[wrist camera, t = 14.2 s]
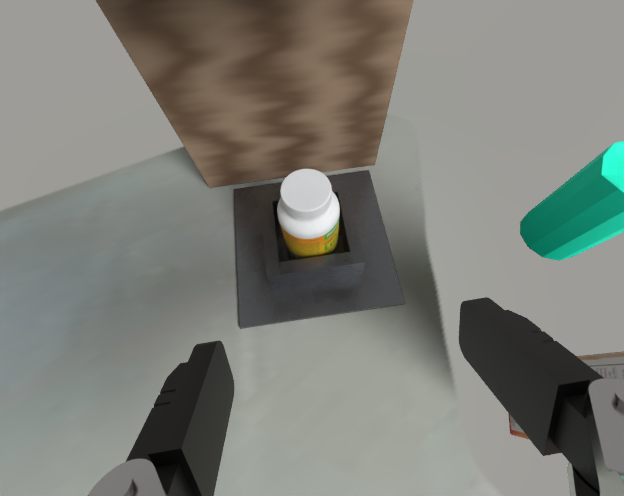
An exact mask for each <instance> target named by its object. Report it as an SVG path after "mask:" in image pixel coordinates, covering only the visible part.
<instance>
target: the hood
mask: <svg viewBox="0 0 624 496" xmlns="http://www.w3.org/2000/svg"><path fill="white" fill-rule="evenodd" d="M96 2H97V3H98V5H99V6H100V8H101V10H102V11H103V13H104V15H105V16H106V18H107V20H108V21H109V23H110V25H111V26H112V28H113V30H114V31H115V33H116V35H117V36H118V38H119V39H120V41H121V43H122V44H123V46H124V47H125V49H126V51H127V53H128V54H129V56H130V58H131V59H132V61H133V62H134V64H135V66H136V67H137V69H138V71H139V72H140V74H141V76H142V77H143V79H144V81H145V82H146V84H147V86H148V87H149V89H150V91H151V92H152V94H153V95H154V97H155V99H156V100H157V102H158V104H159V105H160V107H161V108H162V110H163V112H164V114H165V115H166V117H167V118H168V120H169V122H170V123H171V125H172V127H173V128H174V130H175V132H176V133H177V135H178V136H179V138H180V140H181V141H182V143H183V145H184V146H185V148H186V150H187V151H188V153H189V155H190V156H191V158H192V160H193V161H194V163H195V165H196V166H197V168H198V169H199V171H200V173H201V174H202V176H203V178H204V179H205V181H206V183H207V184H208V186H209V188H212V187H219V186H226V185H233V184H241V183H248V182H255V181H262V180H269V179H276V178H283V177H287V176H288V175H289V174H291V173H292V172H294V171H297V170H300V169H314V170H317V171H319V172H326V171H333V170H340V169H347V168H355V167H362V166H369V165H375V162H376V158H377V153H378V149H379V145H380V141H381V136H382V132H383V128H384V124H385V119H386V115H387V110H388V107H389V102H390V98H391V93H392V89H393V85H394V81H395V77H396V72H397V68H398V64H399V60H400V55H401V51H402V47H403V42H404V38H405V34H406V30H407V26H408V21H409V17H410V13H411V8H412V4H413V0H96Z"/></svg>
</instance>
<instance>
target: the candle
mask: <svg viewBox="0 0 624 496" xmlns="http://www.w3.org/2000/svg"><path fill="white" fill-rule="evenodd" d="M520 225H521V226H520V227H521V228H520V229H521V230H520V234H521V236H522V238H523V239H524V241H525V243H526V244H527V246H528V247H529V248H530V249H532V250H533V251H535V252H536V253H537V254H539V255H540V256H542V257H545V258H549V259H554V260H558V261H559V260H562V259H566V258H570V257H573V256H575V255H577V254H579V253H581V252H584V251H586V250H588V249H590V248H592V247H594V246H596V245H598V244H600V243H602V242H604V241H606V240H608V239H610V238H612V237H614V236H616V235H618V234H620V233H622V232H624V141H622V142H617V143H614V144H612V145H611V146H610V147H609V148H607V149H606V150H605V151H604V152H602V153H601V154H600V155H599V156H598V157H596V158H595V159H594V160H593V161H591V162H590V163H589V164H588V165H587V166H585V167H584V168H583V169H581V170H580V171H579V172H578V173H577V174H575V175H574V176H573V177H572V178H570V179H569V180H568V181H567V182H565V183H564V184H563V185H562V186H561V187H559V188H558V189H557V190H556V191H554V192H553V193H552V194H551V195H549V196H548V197H547V198H546V199H545V200H543V201H542V202H541V203H540V204H538V205H537V206H536V207H535V208H533V209H532V210H531V211H530V212H529V213H528V214H527V215H526V216H525V217H524V218H523V220H522V221H521V224H520Z"/></svg>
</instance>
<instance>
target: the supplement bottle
mask: <svg viewBox="0 0 624 496" xmlns="http://www.w3.org/2000/svg"><path fill="white" fill-rule="evenodd" d="M280 194H281V198H280V200H279V202H278V207H277V214H278V219H279V223H280V226H281V229H282V232H283V235H284V239H285V242H286V245H287V248H288V251H289V253H290V254H291V256H292V257H293V258H294V259H295V260H298V259H304V258H311V257H318V256H325V255H332V254H334V252H335V250H336V247H337V242H338V230H339V215H340V207H339V202H338V199H337V197H336V195H335V194H334V192H333V191H332V187H331V183H330V181H329V179H328V178H327V177H326V176H325V175H324V174H323V173H321V172H319V171H317V170H314V169H300V170H297V171H294V172H292V173H291V174H289V175H288V176H287V177H286V178H285V179H284V181H283V182H282V185H281V189H280Z"/></svg>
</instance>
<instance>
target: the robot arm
mask: <svg viewBox="0 0 624 496" xmlns="http://www.w3.org/2000/svg"><path fill="white" fill-rule="evenodd" d="M459 344H460V348H461V351H462V353H463V355H464V357H465V358H466V360H467V361H468V362H469V363H470V365H471V366H472V367H473V368H474V370H475V371H476V372H477V373H478V375H479V376H480V377H481V378H482V380H483V381H484V382H485V384H486V385H487V386H488V387H489V389H490V390H491V391H492V392H493V393H494V395H495V396H496V397H497V399H498V400H499V401H500V402H501V404H502V405H503V406H504V407H505V409H506V410H507V411H508V412H509V414H510V415H511V416H512V418H513V419H514V420H515V421H516V423H517V424H518V425H519V426H520V428H521V429H522V430H523V431H524V433H525V434H526V435H527V436H528V438H529V439H530V440H531V441H532V443H533V444H534V445H535V446H536V448H537V449H538V450H539V451H540V453H541V454H542V455H543V456H545V455H551V454H556V453H563V455H564V456H565V457H566V458H567V459H568V461H569V463H568V467H567V473H568V480H569V489H570V496H624V380H619V379H612V378H604V377H602V376H601V375H600V374H599V373H597V372H596V371H595V370H593V369H592V368H591V367H589V366H588V365H587V364H586V363H584V362H583V361H582V360H580V359H579V358H578V357H576V356H575V355H574V354H573V353H571V352H570V351H569V350H567V349H566V348H565V347H563V346H562V345H561V344H559V343H558V342H557V341H554V340H553V338H552V337H550V336H549V335H548V334H546V333H545V332H542V331H541V329H540V328H538V327H537V326H536V325H535V324H533V323H532V322H531V321H529V320H528V319H527V318H525V317H523V316H520V315H518V314H516V313H513V312H512V311H509V310H503V309H502V308H501V307H500V306H499V305H497V304H496V303H495V302H493V301H492V300H491V299H489V298H481V299H474V300H468V301H463V302H462V304H461V309H460V326H459ZM233 397H234V380H233V375H232V372H231V369H230V366H229V362H228V359H227V356H226V353H225V349H224V346H223V344H222V342H221V341H214V342H208V343H202V344H197V345H196V346H195V347H194V349H193V351H192V354H191V356H190V358H189V361H188V362H186V363H180V364H179V365H178V366H177V368H176V369H175V370H174V371H173V372H172V373H171V374H170V375H169V376H168V377H167V379H166V381H165V383H164V385H163V387H162V389H161V391H160V395H158V397H157V399H156V402H155V404H154V408H152V410H151V412H150V414H149V416H148V418H147V420H146V422H145V424H144V426H143V428H142V430H141V432H140V434H139V436H138V438H137V440H136V442H135V444H134V446H133V448H132V450H131V452H130V454H129V456H128V458H127V460H126V462H125V463H123V464H120V465H119V466H117V467H115V468H114V469H112V470H111V471H110V472H108V473H107V474H106V475H105V476H104V477H103V478H102V479H101V480H100V481H99V482H98V483H97V484H96V485H95V486H94V487H93V489H92V490H91V491H90V493H89V494H88V496H213V495H214V490H215V486H216V481H217V476H218V471H219V466H220V461H221V456H222V451H223V446H224V441H225V436H226V432H227V427H228V422H229V417H230V412H231V407H232V402H233Z"/></svg>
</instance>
